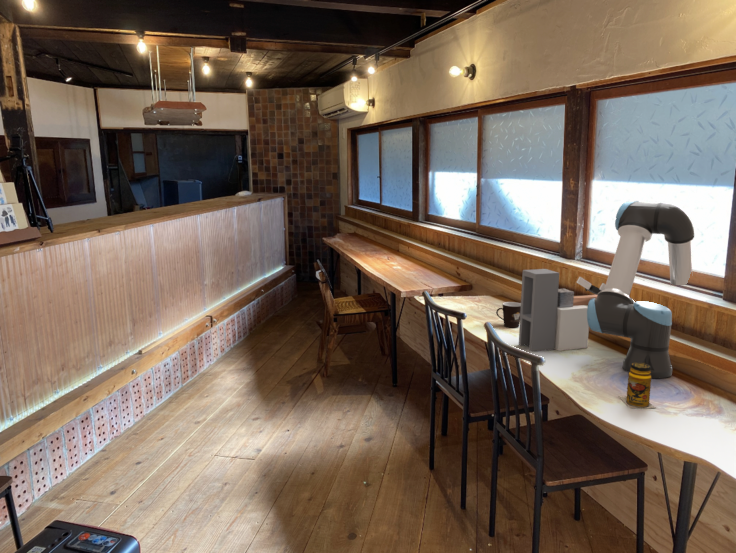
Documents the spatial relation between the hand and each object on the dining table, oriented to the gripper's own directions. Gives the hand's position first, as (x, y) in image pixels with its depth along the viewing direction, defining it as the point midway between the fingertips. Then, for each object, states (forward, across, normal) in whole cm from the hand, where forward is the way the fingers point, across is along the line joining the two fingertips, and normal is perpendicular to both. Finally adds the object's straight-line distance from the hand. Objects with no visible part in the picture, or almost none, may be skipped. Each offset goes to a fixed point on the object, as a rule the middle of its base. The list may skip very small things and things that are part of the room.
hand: (589, 282), depth 214 cm
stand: (+7, 0, -32) cm, 33 cm away
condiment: (+8, -54, -33) cm, 64 cm away
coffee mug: (+2, +30, -30) cm, 42 cm away
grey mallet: (0, 0, -10) cm, 10 cm away
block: (-4, 0, -26) cm, 26 cm away
